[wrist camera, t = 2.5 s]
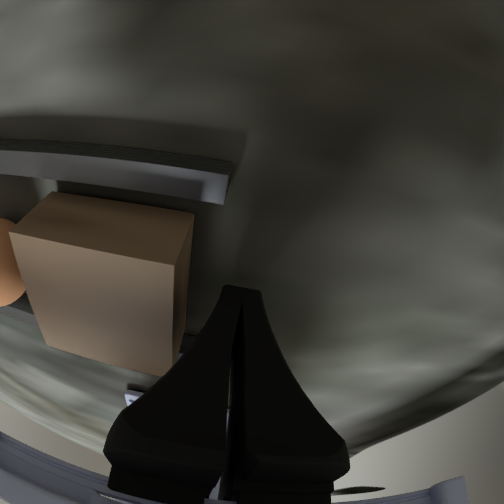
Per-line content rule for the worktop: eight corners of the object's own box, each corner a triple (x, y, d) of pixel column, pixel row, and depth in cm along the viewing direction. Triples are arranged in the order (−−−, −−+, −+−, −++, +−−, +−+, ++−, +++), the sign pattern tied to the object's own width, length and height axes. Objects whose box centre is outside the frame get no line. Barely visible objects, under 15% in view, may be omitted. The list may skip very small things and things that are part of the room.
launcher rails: (203, 349, 16) (200, 368, 15) (3, 297, 15) (-6, 310, 14) (232, 162, 10) (228, 175, 9) (-37, 139, 9) (-53, 149, 8)
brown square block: (185, 326, 15) (172, 378, 12) (71, 300, 14) (47, 344, 12) (194, 213, 11) (174, 265, 9) (51, 191, 11) (8, 231, 8)
